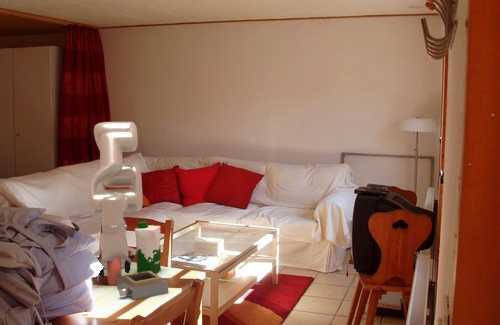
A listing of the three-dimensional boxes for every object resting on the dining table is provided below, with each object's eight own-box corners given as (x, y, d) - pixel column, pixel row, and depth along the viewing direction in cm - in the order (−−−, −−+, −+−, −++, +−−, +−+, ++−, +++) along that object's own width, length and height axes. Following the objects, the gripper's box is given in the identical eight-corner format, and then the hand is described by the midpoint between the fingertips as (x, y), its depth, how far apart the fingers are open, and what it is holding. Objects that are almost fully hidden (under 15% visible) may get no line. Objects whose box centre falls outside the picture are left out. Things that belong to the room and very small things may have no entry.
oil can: (106, 282, 205) (104, 248, 204) (119, 280, 208) (118, 246, 206) (110, 286, 201) (109, 251, 199) (123, 283, 203) (122, 249, 202)
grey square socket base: (109, 289, 197) (108, 275, 197) (150, 281, 206) (150, 268, 205) (124, 301, 184) (123, 287, 183) (168, 292, 192) (167, 279, 192)
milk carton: (142, 268, 223) (141, 219, 221) (163, 269, 221) (162, 220, 219) (134, 274, 214) (132, 224, 212) (155, 275, 213) (154, 225, 211)
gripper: (131, 225, 210) (133, 268, 211) (86, 230, 201) (88, 276, 202) (139, 228, 204) (140, 273, 205) (92, 234, 194) (94, 281, 196)
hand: (114, 274), depth 203 cm, fingers open, 9 cm apart
